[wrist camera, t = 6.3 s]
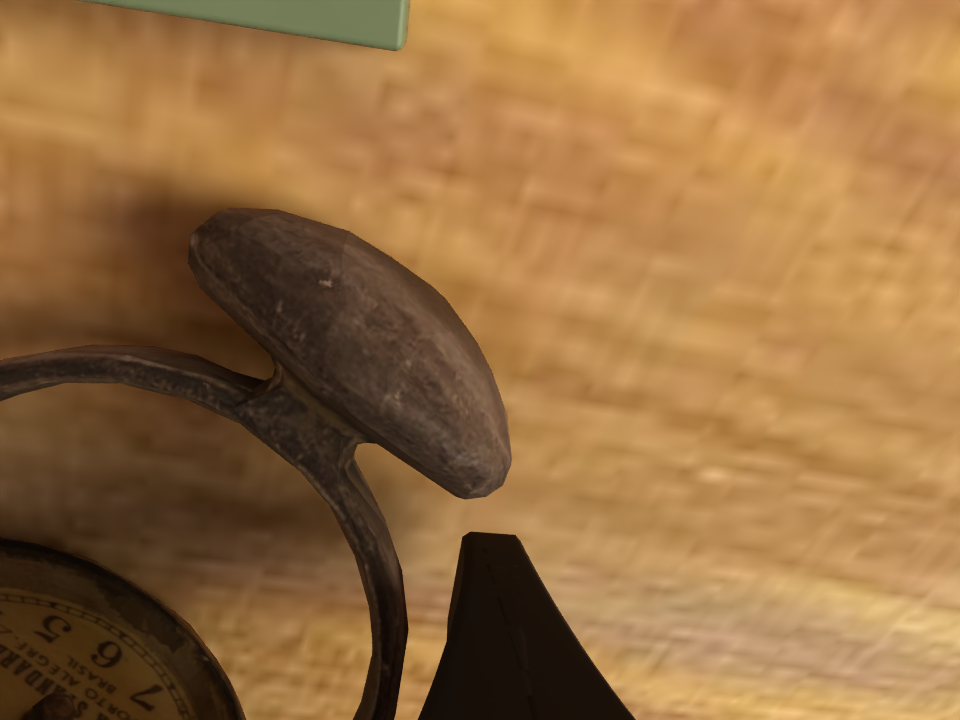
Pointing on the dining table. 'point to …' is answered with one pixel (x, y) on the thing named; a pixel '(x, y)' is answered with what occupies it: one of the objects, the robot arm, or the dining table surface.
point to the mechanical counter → (285, 429)
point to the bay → (296, 17)
